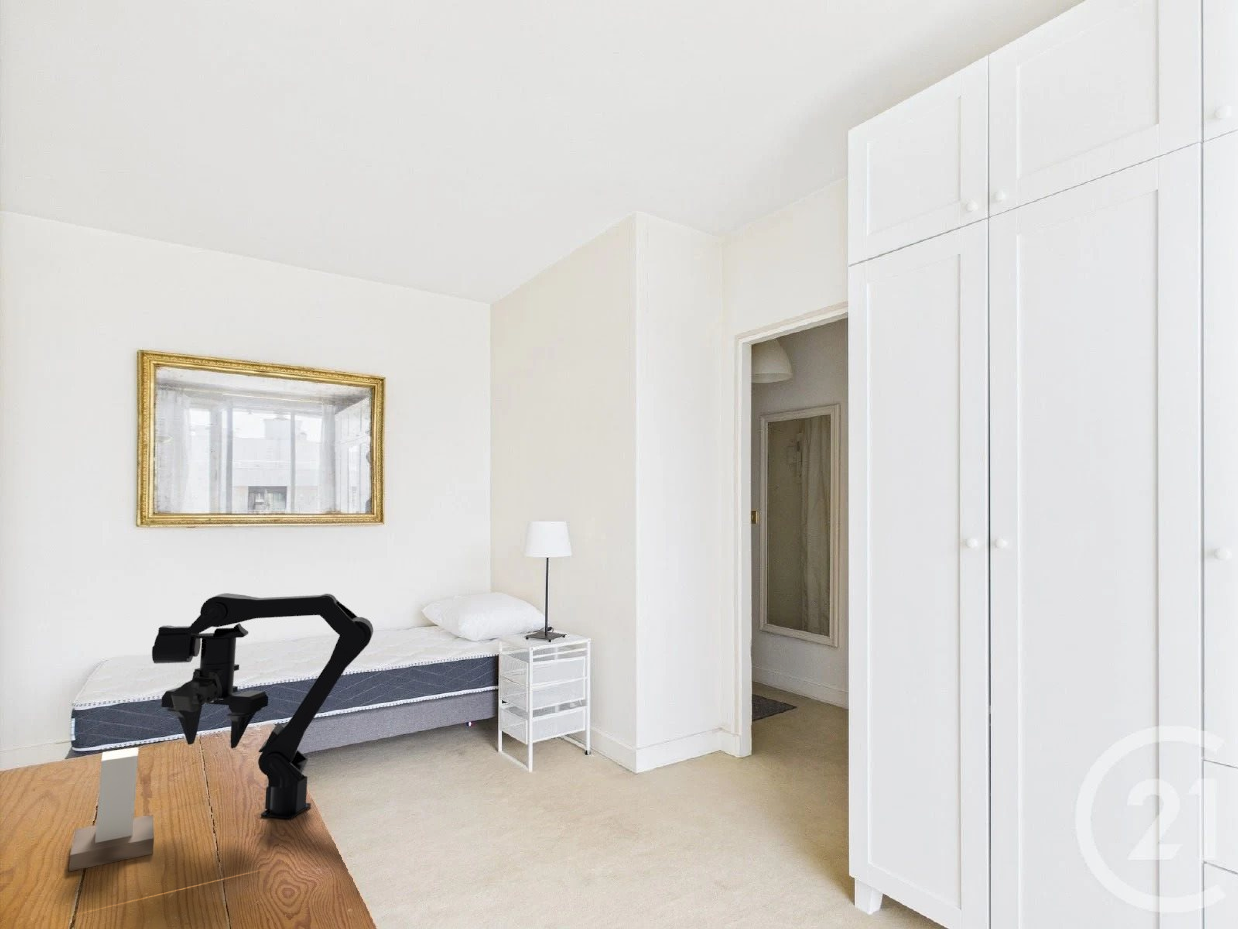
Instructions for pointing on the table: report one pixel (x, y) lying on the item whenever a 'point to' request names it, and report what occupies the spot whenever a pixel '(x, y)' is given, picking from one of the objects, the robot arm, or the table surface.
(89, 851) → the walnut plinth
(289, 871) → the table surface
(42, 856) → the table surface
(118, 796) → the cream block
